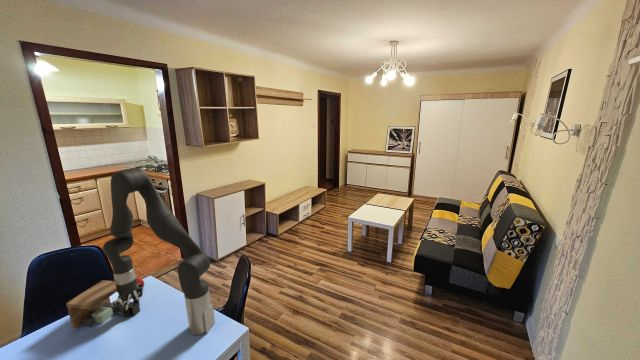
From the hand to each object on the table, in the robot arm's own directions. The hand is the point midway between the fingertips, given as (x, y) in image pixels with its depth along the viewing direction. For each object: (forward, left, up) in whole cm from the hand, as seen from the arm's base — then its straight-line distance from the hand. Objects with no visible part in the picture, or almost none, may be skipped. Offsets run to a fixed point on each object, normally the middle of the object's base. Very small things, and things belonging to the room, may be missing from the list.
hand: (132, 311), depth 121 cm
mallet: (+6, +4, -1) cm, 8 cm away
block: (+10, +5, -1) cm, 11 cm away
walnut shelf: (+11, +4, -1) cm, 12 cm away
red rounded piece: (+10, -14, -1) cm, 17 cm away
